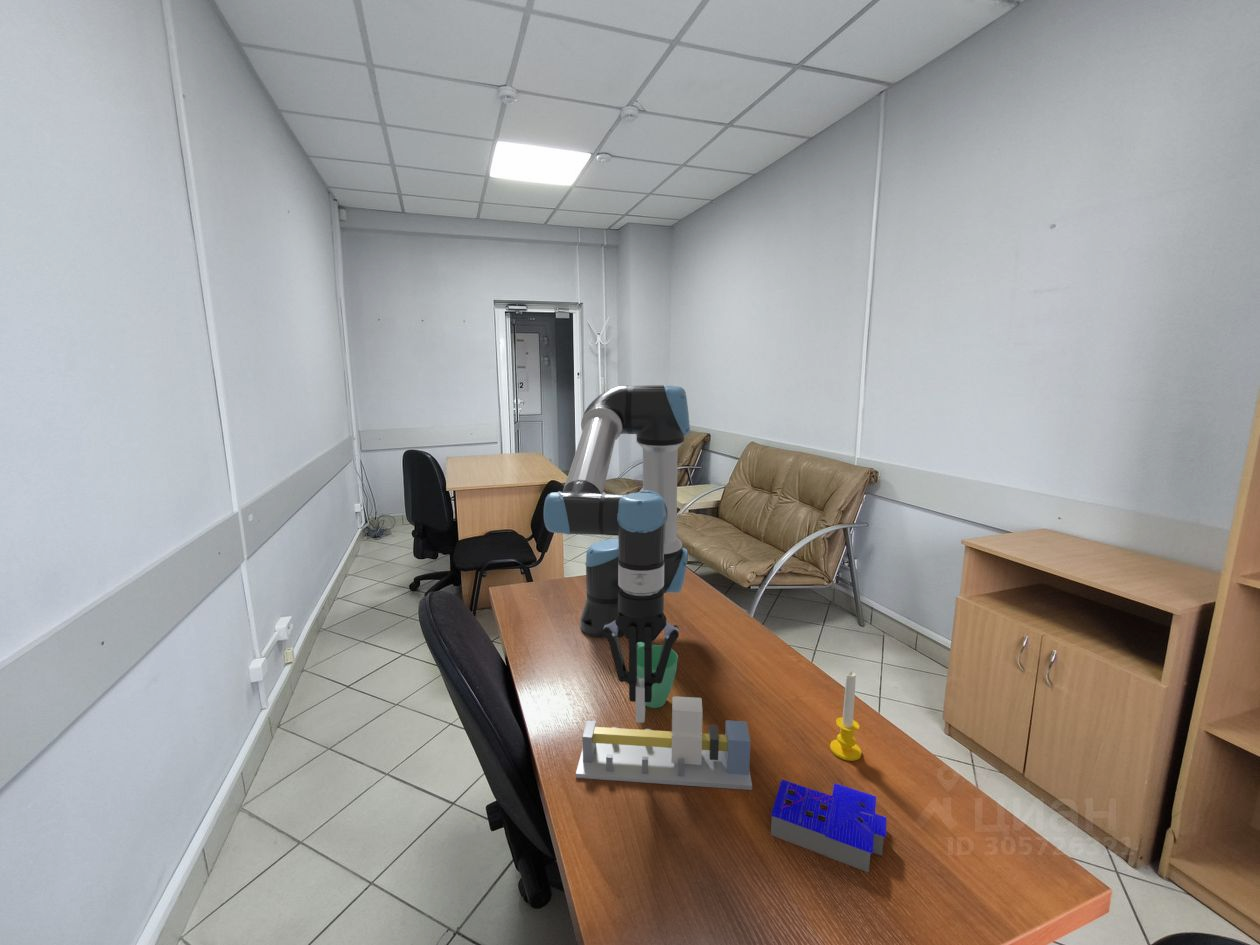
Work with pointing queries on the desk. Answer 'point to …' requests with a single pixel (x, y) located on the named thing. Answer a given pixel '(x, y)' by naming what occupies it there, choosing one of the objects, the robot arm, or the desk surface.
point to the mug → (664, 688)
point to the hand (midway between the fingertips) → (640, 717)
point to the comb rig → (666, 757)
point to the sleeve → (687, 730)
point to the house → (830, 822)
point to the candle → (847, 725)
